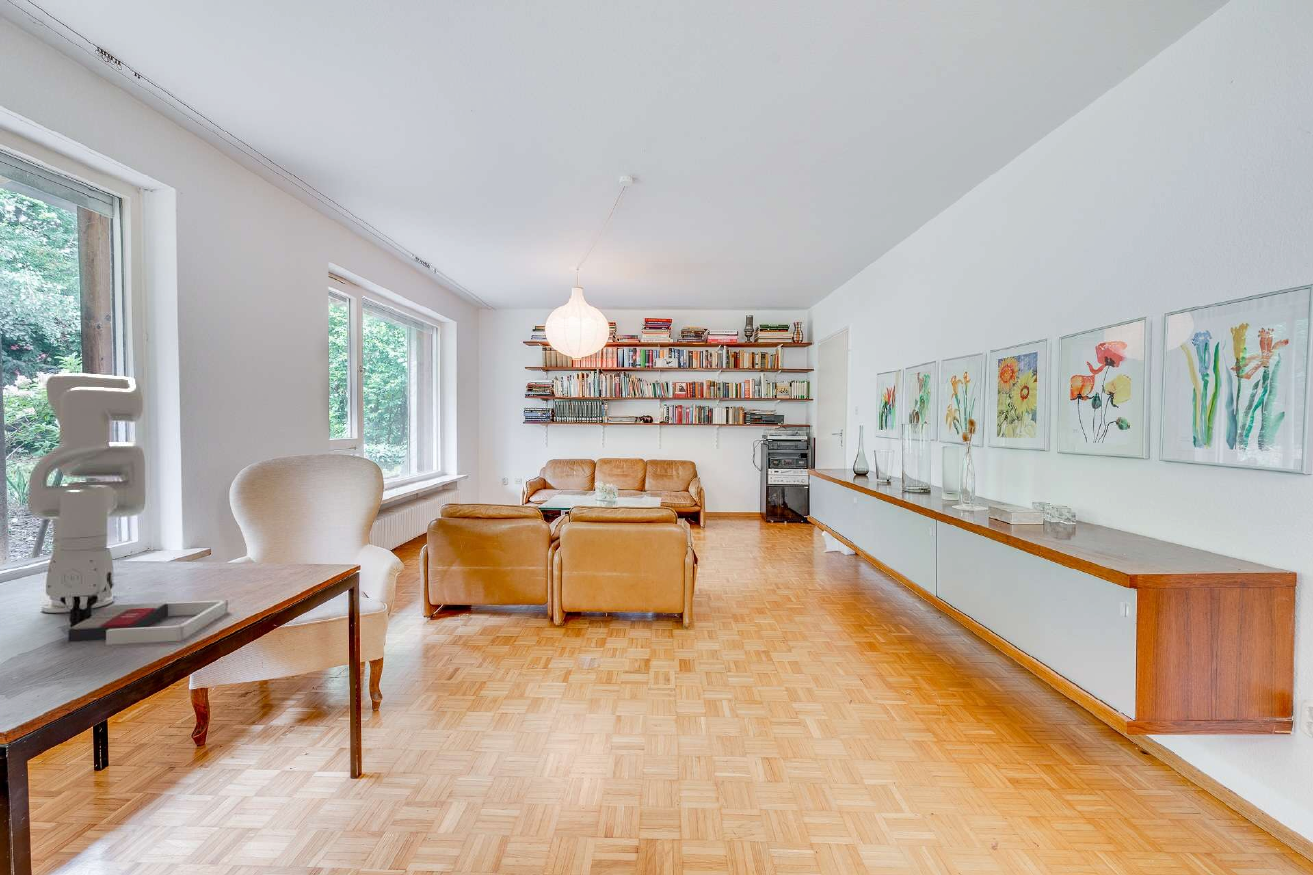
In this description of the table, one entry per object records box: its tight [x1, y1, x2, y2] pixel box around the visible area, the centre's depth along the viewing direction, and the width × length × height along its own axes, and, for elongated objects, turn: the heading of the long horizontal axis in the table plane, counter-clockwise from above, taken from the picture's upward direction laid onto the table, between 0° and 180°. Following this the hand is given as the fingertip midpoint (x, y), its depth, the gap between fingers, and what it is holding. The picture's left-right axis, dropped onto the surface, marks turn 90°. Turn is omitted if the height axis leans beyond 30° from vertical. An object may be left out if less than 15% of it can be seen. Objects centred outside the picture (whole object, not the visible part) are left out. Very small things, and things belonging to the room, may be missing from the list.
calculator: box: [67, 602, 169, 643], centre depth 126 cm, size 11×4×15 cm
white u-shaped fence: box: [105, 599, 229, 645], centre depth 128 cm, size 20×14×3 cm
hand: (80, 625), depth 124 cm, fingers closed
